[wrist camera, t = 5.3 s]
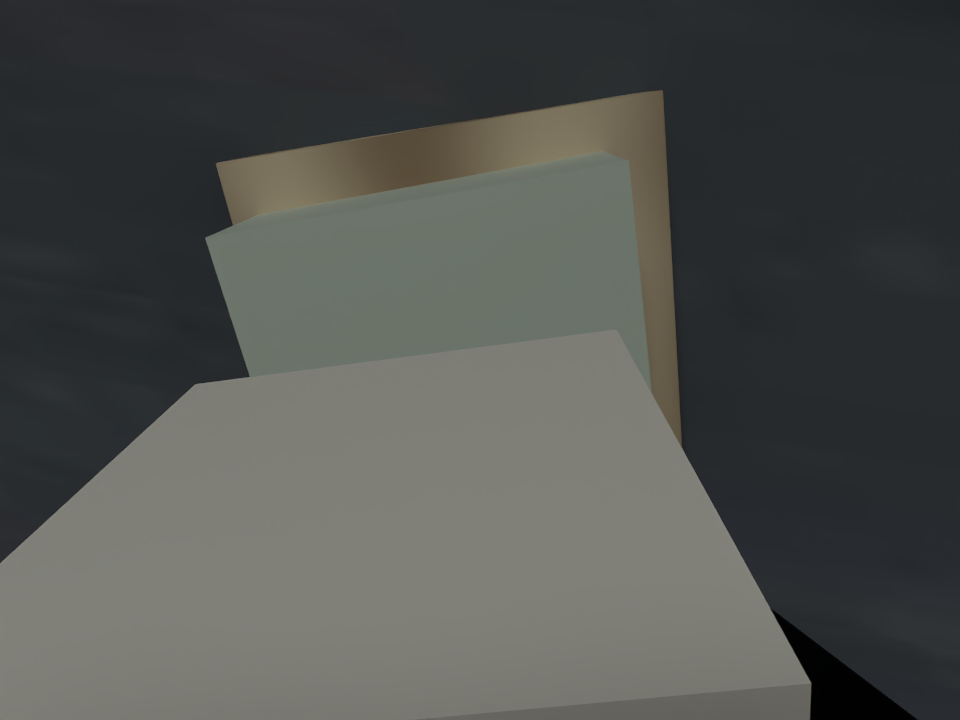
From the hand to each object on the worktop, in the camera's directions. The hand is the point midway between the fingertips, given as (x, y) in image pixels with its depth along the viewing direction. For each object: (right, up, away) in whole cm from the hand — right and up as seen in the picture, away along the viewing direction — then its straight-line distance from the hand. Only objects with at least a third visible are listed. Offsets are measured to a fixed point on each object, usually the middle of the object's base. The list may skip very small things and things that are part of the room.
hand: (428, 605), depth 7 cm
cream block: (0, 0, +1) cm, 1 cm away
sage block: (0, +3, +9) cm, 10 cm away
